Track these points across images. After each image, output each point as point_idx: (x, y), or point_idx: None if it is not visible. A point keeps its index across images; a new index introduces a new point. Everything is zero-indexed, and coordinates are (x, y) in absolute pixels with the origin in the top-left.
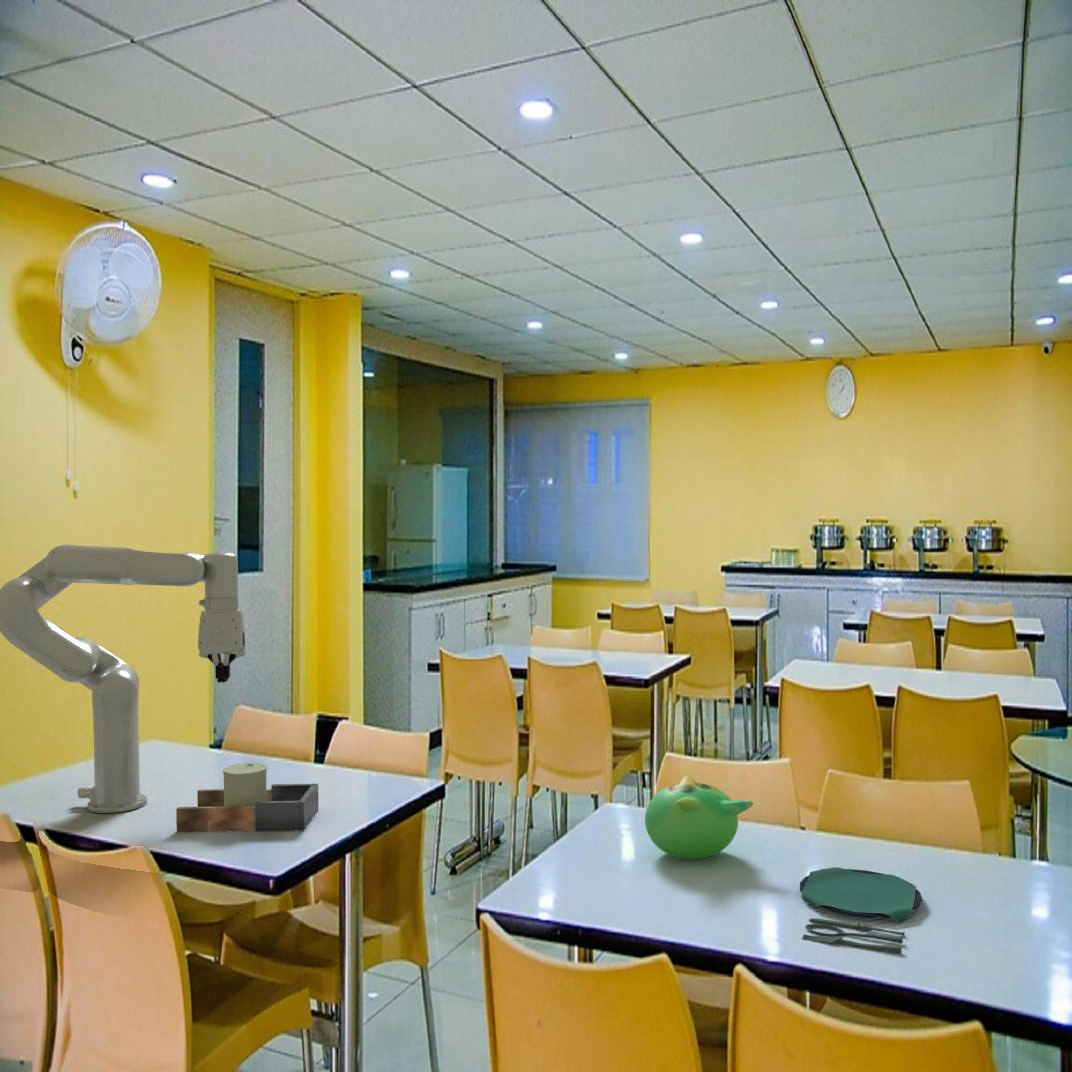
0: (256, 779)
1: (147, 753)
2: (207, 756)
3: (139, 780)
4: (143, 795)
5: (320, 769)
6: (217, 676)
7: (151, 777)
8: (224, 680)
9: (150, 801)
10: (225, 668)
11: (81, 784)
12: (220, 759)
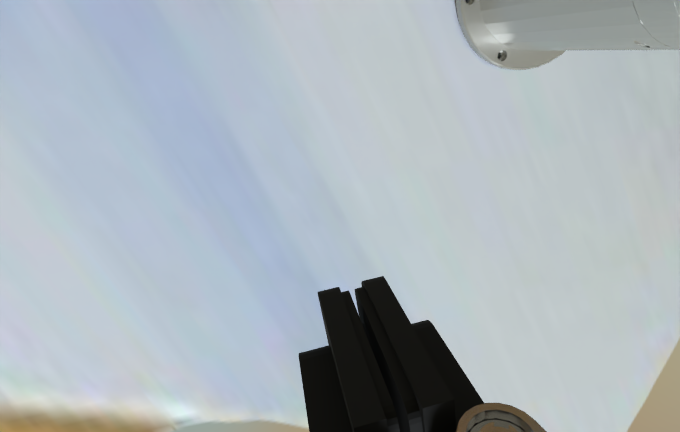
0: None
1: (602, 392)
2: None
3: (512, 18)
4: (483, 48)
5: (156, 386)
6: (398, 305)
7: (533, 242)
8: (321, 308)
9: (455, 44)
10: (341, 426)
11: (665, 162)
12: None
